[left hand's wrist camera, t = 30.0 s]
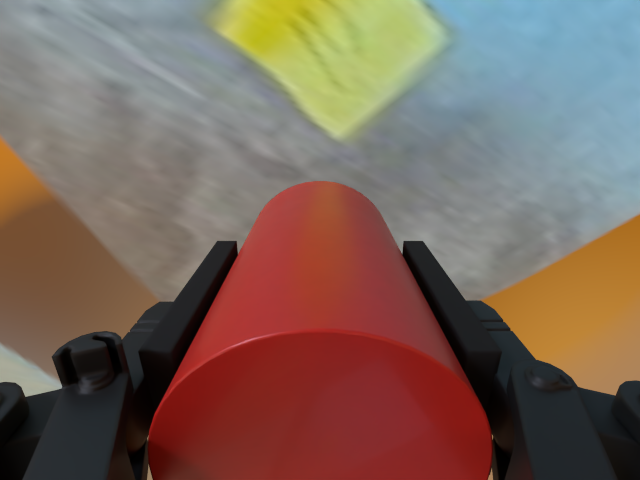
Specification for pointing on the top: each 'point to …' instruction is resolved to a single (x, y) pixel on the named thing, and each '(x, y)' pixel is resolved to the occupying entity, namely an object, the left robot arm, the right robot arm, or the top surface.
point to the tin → (320, 361)
